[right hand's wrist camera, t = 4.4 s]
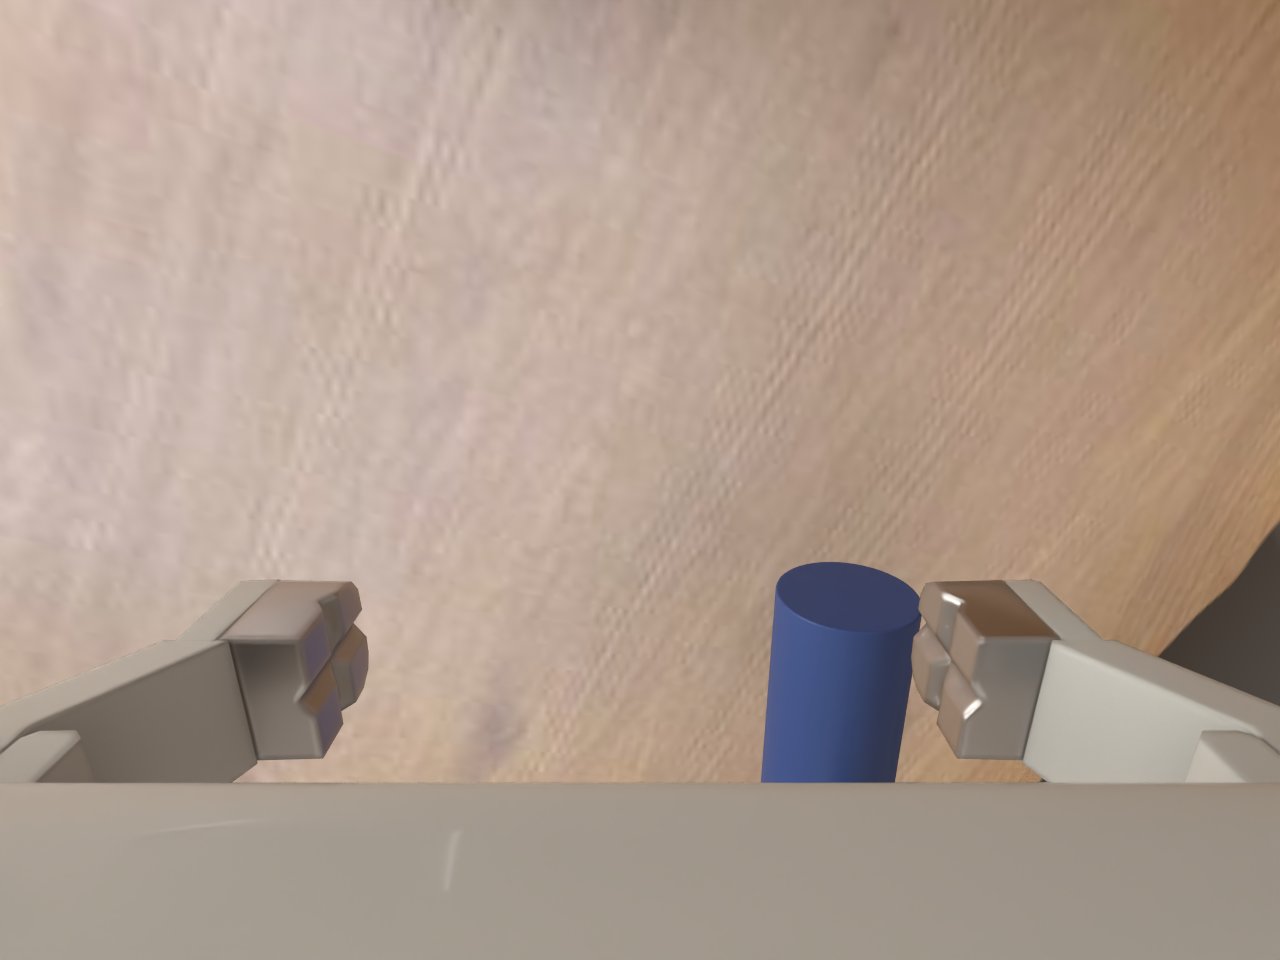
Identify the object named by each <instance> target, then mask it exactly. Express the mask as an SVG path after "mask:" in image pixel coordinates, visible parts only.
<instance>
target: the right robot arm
mask: <svg viewBox="0 0 1280 960" xmlns="http://www.w3.org/2000/svg"><path fill="white" fill-rule="evenodd" d="M361 610H362V607H361V602H360V597H359V592H358V589H357V587H356V586H355V585H354V584H353V583H352V582H343V581H289V580H284V581H281V580H249V581H240V582H239V583H238V584H237V585H236V586H235V587H234V588H233V589H231V590H230V591H229V592H228V593H227V594H226V595H225V596H224V597H223V598H222V599H221V600H219V601H218V602H217V603H216V604H215V605H214V606H213V607H212V608H211V609H210V610H208V611H207V612H206V613H205V614H204V615H203V616H202V617H201V618H200V619H199V620H198V621H196V622H195V623H194V624H193V625H192V626H191V627H190V628H189V629H188V630H187V631H185V632H184V633H183V634H182V635H181V636H180V637H179V638H178V639H177V640H164V641H161V642H159V643H156V644H154V645H151V646H149V647H146V648H144V649H141V650H139V651H136V652H134V653H131V654H129V655H126V656H124V657H121V658H119V659H117V660H114V661H112V662H109V663H107V664H104V665H102V666H99V667H97V668H94V669H92V670H89V671H87V672H84V673H82V674H79V675H77V676H74V677H72V678H69V679H67V680H64V681H62V682H59V683H57V684H54V685H52V686H49V687H47V688H44V689H42V690H39V691H37V692H35V693H32V694H30V695H27V696H25V697H22V698H20V699H17V700H15V701H12V702H10V703H7V704H5V705H2V706H0V960H1280V706H1277V705H1275V704H1272V703H1270V702H1267V701H1265V700H1262V699H1260V698H1258V697H1255V696H1253V695H1250V694H1248V693H1245V692H1243V691H1240V690H1238V689H1235V688H1233V687H1230V686H1228V685H1225V684H1223V683H1220V682H1218V681H1215V680H1213V679H1210V678H1208V677H1205V676H1203V675H1201V674H1198V673H1196V672H1193V671H1191V670H1188V669H1186V668H1183V667H1181V666H1178V665H1176V664H1173V663H1171V662H1168V661H1166V660H1163V659H1161V658H1158V657H1156V656H1153V655H1151V654H1149V653H1146V652H1144V651H1141V650H1139V649H1136V648H1134V647H1131V646H1129V645H1126V644H1124V643H1121V642H1119V641H1116V640H1103V639H1102V638H1101V637H1100V636H1099V635H1098V634H1097V633H1096V632H1095V631H1093V630H1092V629H1091V628H1090V627H1089V626H1088V625H1087V624H1086V623H1085V622H1084V621H1083V620H1081V619H1080V618H1079V617H1078V616H1077V615H1076V614H1075V613H1074V612H1073V611H1072V610H1071V609H1069V608H1068V607H1067V606H1066V605H1065V604H1064V603H1063V602H1062V601H1061V600H1060V599H1059V598H1057V597H1056V596H1055V595H1054V594H1053V593H1052V592H1051V591H1050V590H1049V589H1048V588H1047V587H1045V586H1044V585H1043V584H1042V583H1041V582H1038V581H1035V580H1032V579H1030V580H1008V581H1002V580H990V581H948V582H930V583H925V586H924V588H923V590H922V592H921V595H920V601H919V607H918V610H919V612H920V613H921V615H922V616H923V618H924V620H925V621H926V624H925V625H924V626H923V627H922V628H921V629H920V630H919V632H918V633H917V634H916V635H915V636H914V638H913V646H912V654H911V660H912V671H913V678H914V681H915V684H916V687H917V690H918V692H919V694H920V695H921V697H922V699H923V701H924V702H925V703H927V704H928V705H930V706H931V707H933V708H935V709H936V710H938V711H939V713H938V719H937V725H938V727H939V729H940V730H941V732H942V734H943V735H944V737H945V739H946V740H947V742H948V744H949V746H950V747H951V749H952V751H953V752H954V754H955V756H956V757H957V759H995V760H1023V762H1022V763H1023V764H1024V765H1026V766H1027V767H1028V768H1030V769H1031V770H1032V771H1034V772H1035V773H1036V774H1038V775H1039V776H1040V777H1042V778H1043V779H1044V780H1046V781H1047V782H1048V783H232V782H233V781H234V780H236V779H237V778H238V777H240V776H241V775H243V774H244V773H245V772H247V771H248V770H249V769H251V768H252V767H253V766H255V765H256V764H257V760H284V759H320V758H324V756H325V754H326V753H327V751H328V749H329V747H330V746H331V744H332V742H333V741H334V739H335V737H336V735H337V734H338V732H339V730H340V729H341V727H342V725H343V719H342V713H341V711H342V710H344V709H345V708H347V707H349V706H350V705H352V704H353V703H355V702H356V701H357V699H358V697H359V695H360V694H361V692H362V690H363V688H364V684H365V680H366V676H367V672H368V645H367V638H366V636H365V635H364V634H363V633H362V632H361V630H360V629H359V628H358V627H357V626H356V625H355V624H354V621H355V620H356V618H357V616H358V615H359V613H360V612H361Z"/></svg>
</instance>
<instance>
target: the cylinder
mask: <svg viewBox="0 0 1280 960" xmlns="http://www.w3.org/2000/svg"><path fill="white" fill-rule="evenodd" d="M919 601H920V598H919V596H918V595H917V593H916V592H915V591H914V590H913V589H912V588H911V587H910V586H909V585H907V584H906V583H904V582H903V581H901V580H900V579H898V578H896V577H894V576H892V575H890V574H888V573H885V572H883V571H880V570H877V569H874V568H870V567H866V566H862V565H857V564H850V563H840V562H820V563H812V564H806V565H802V566H799V567H796V568H793V569H791V570H789V571H788V572H786V573H785V574H783V575H782V576H781V578H780V579H779V581H778V582H777V585H776V593H775V606H774V619H773V632H772V645H771V658H770V671H769V684H768V697H767V710H766V723H765V736H764V749H763V763H762V776H761V783H895V777H896V771H897V765H898V759H899V752H900V746H901V740H902V734H903V728H904V721H905V715H906V709H907V703H908V697H909V690H910V684H911V678H912V672H913V671H912V660H911V654H912V646H913V638H914V636H915V635H916V634H917V633H918V632H919V628H920V622H921V616H922V615H921V613H920V612H919V610H918V607H919Z"/></svg>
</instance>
